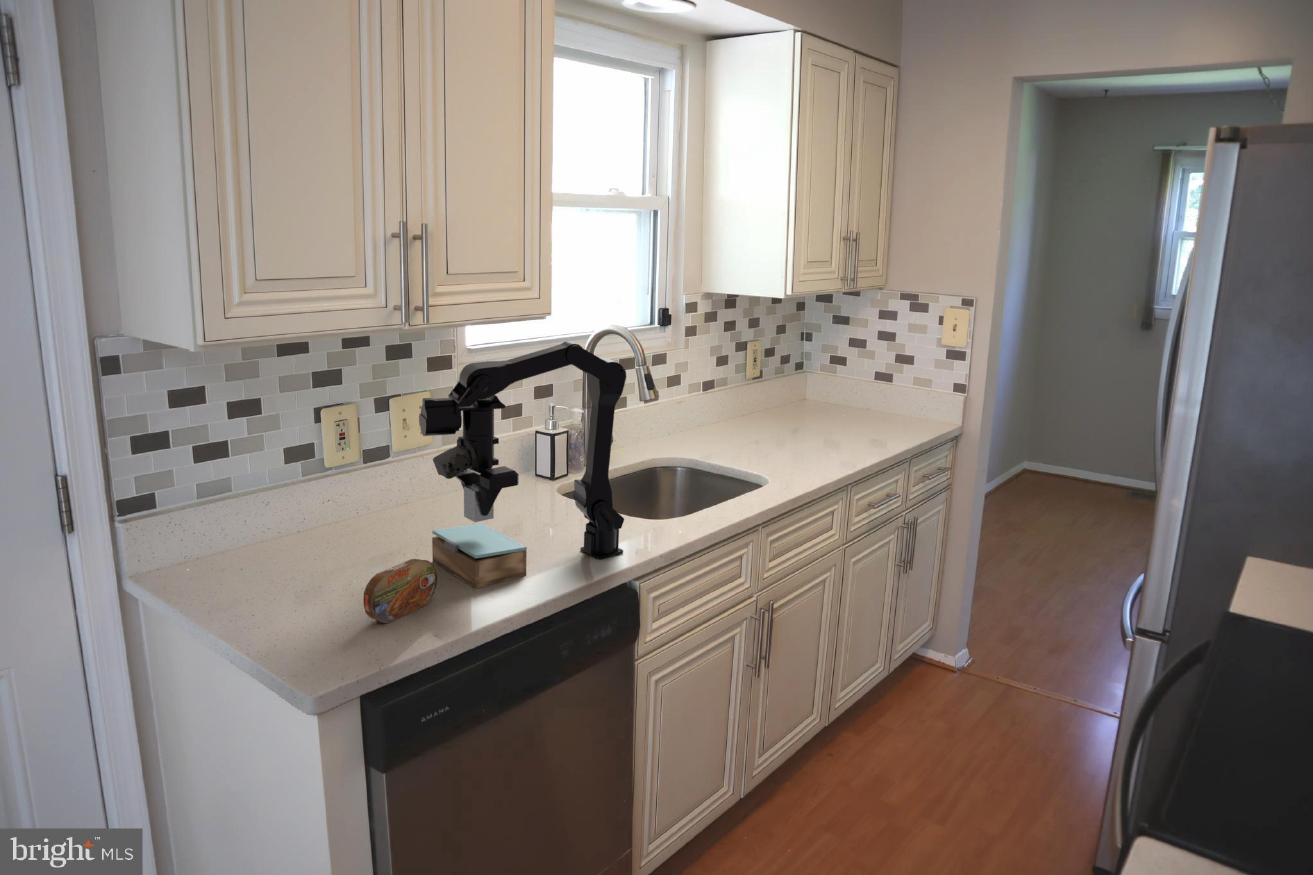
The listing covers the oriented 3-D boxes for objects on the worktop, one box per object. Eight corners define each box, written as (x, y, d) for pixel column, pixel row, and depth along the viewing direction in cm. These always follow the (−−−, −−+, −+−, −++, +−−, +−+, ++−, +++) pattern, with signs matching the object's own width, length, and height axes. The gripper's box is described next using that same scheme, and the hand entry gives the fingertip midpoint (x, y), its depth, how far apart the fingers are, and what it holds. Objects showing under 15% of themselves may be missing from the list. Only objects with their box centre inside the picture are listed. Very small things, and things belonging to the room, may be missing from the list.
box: (481, 549, 186) (481, 526, 185) (526, 574, 174) (526, 550, 173) (432, 561, 179) (432, 537, 177) (475, 588, 167) (475, 562, 166)
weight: (482, 512, 177) (482, 482, 175) (493, 518, 174) (493, 488, 172) (464, 516, 174) (463, 486, 173) (475, 522, 171) (474, 491, 170)
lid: (481, 530, 185) (481, 523, 184) (526, 554, 173) (526, 547, 173) (428, 537, 177) (429, 530, 177) (471, 563, 165) (472, 555, 165)
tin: (374, 630, 150) (372, 582, 148) (360, 625, 151) (358, 578, 149) (439, 599, 162) (438, 554, 160) (426, 595, 164) (425, 550, 162)
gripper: (414, 427, 171) (416, 507, 175) (465, 449, 158) (466, 535, 162) (467, 420, 179) (467, 496, 183) (520, 440, 165) (520, 523, 169)
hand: (478, 512), depth 174 cm, fingers closed on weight, 4 cm apart
